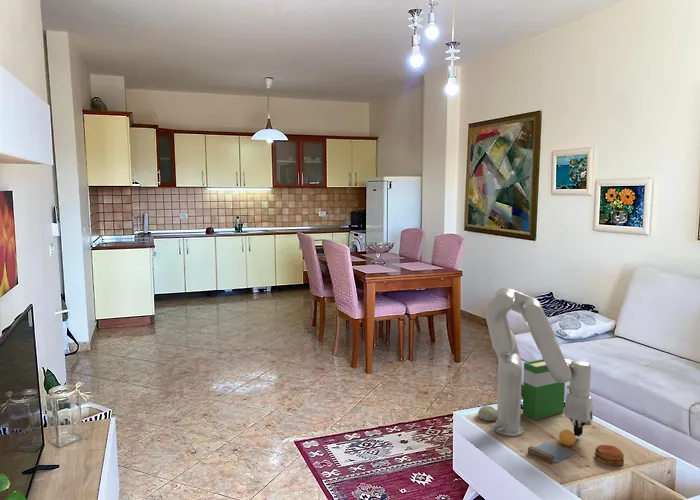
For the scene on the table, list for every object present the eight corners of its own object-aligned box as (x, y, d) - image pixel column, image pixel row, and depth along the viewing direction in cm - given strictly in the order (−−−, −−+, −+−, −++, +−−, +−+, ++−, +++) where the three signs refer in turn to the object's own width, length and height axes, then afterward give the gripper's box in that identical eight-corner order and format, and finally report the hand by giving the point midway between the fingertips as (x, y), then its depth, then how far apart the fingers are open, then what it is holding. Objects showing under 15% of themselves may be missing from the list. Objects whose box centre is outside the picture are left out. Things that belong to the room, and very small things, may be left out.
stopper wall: (551, 464, 190) (551, 457, 190) (527, 453, 198) (528, 447, 198) (554, 462, 191) (554, 456, 191) (530, 451, 199) (531, 445, 199)
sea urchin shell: (496, 409, 235) (499, 402, 229) (498, 426, 230) (501, 419, 224) (476, 408, 236) (478, 401, 230) (477, 425, 231) (480, 418, 225)
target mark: (556, 463, 190) (556, 463, 190) (528, 450, 200) (528, 450, 200) (574, 453, 197) (574, 453, 197) (546, 442, 207) (546, 441, 207)
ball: (575, 429, 202) (579, 439, 204) (561, 424, 207) (565, 434, 209) (569, 440, 199) (573, 451, 201) (554, 436, 204) (559, 446, 206)
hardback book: (551, 406, 242) (552, 357, 239) (563, 412, 235) (565, 361, 233) (522, 413, 234) (524, 362, 232) (534, 419, 228) (536, 367, 225)
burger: (629, 464, 190) (630, 452, 189) (610, 468, 187) (610, 456, 186) (607, 451, 199) (608, 440, 199) (589, 456, 196) (589, 444, 195)
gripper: (557, 388, 212) (556, 430, 213) (592, 399, 200) (590, 444, 202) (567, 384, 216) (566, 426, 218) (602, 395, 204) (600, 439, 206)
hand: (577, 434), depth 210 cm, fingers closed
